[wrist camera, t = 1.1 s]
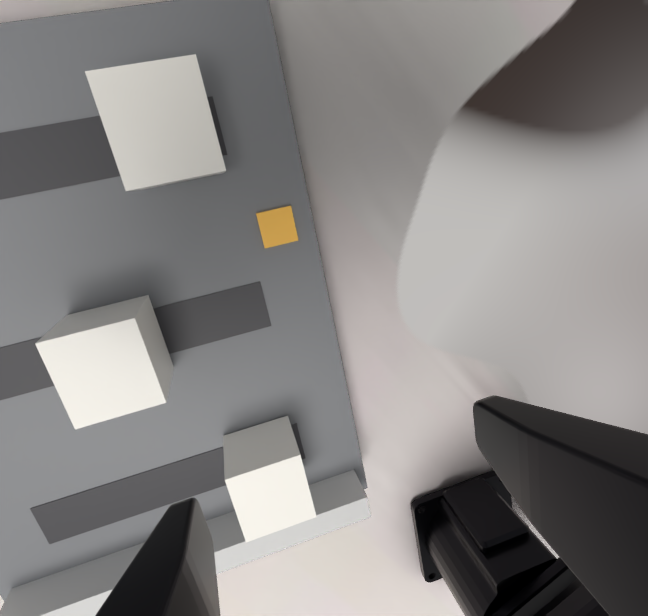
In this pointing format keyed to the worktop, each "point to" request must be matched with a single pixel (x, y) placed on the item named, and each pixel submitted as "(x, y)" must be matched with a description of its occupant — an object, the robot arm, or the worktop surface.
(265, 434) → the block
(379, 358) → the worktop surface
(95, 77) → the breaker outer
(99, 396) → the block
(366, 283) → the worktop surface
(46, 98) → the breaker panel
